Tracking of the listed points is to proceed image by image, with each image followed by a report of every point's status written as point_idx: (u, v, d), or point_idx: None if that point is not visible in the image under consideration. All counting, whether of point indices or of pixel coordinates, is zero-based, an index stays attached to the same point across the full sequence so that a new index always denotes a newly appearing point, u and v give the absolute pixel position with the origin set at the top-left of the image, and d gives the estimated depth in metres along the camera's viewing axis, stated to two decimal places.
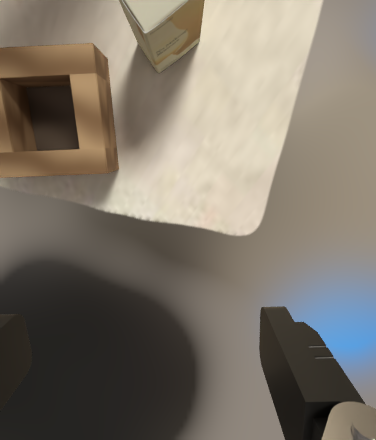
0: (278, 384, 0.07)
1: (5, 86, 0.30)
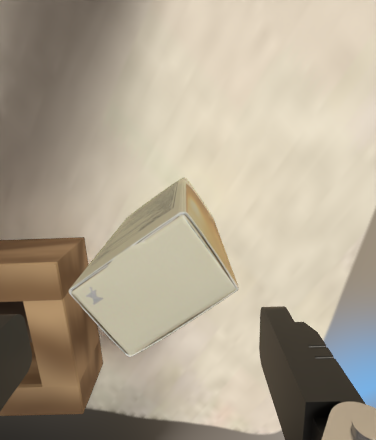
0: (278, 384, 0.07)
1: None
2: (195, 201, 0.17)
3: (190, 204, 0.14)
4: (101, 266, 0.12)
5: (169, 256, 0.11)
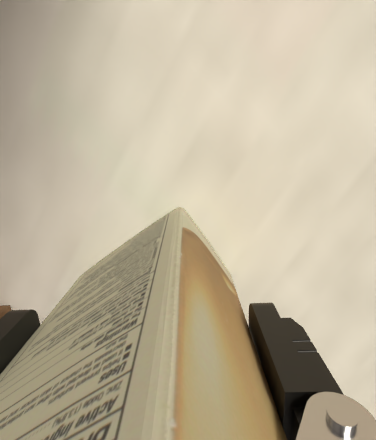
0: None
1: None
2: (203, 283, 0.07)
3: (193, 365, 0.04)
4: None
5: None
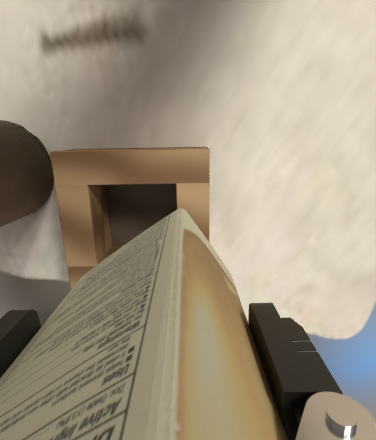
0: None
1: (92, 190, 0.25)
2: (205, 285, 0.07)
3: (195, 368, 0.04)
4: None
5: None
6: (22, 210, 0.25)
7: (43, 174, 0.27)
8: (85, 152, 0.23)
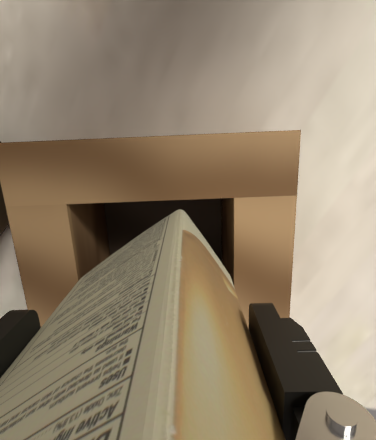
0: None
1: (77, 212, 0.14)
2: (203, 287, 0.07)
3: (192, 371, 0.04)
4: None
5: None
6: None
7: None
8: (60, 142, 0.12)
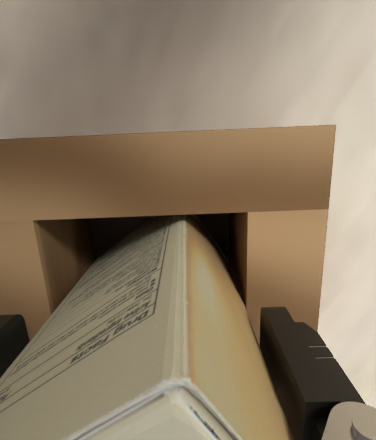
0: (278, 384, 0.07)
1: (49, 228, 0.11)
2: (203, 252, 0.09)
3: (197, 287, 0.06)
4: None
5: None
6: None
7: None
8: (22, 141, 0.09)
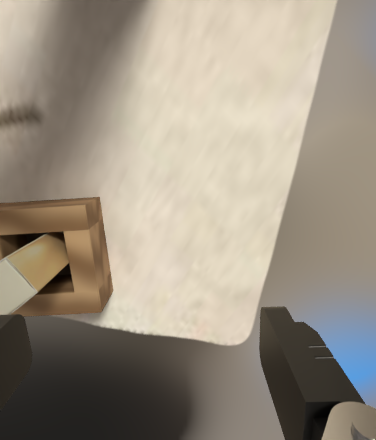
0: (278, 384, 0.07)
1: (4, 237, 0.33)
2: (47, 244, 0.31)
3: (26, 250, 0.27)
4: None
5: (1, 277, 0.25)
6: None
7: None
8: None
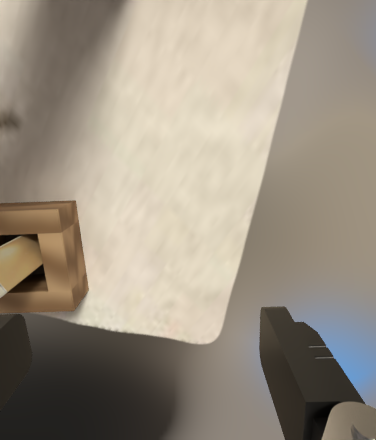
0: (278, 384, 0.07)
1: None
2: (21, 245, 0.32)
3: None
4: None
5: None
6: None
7: None
8: None
